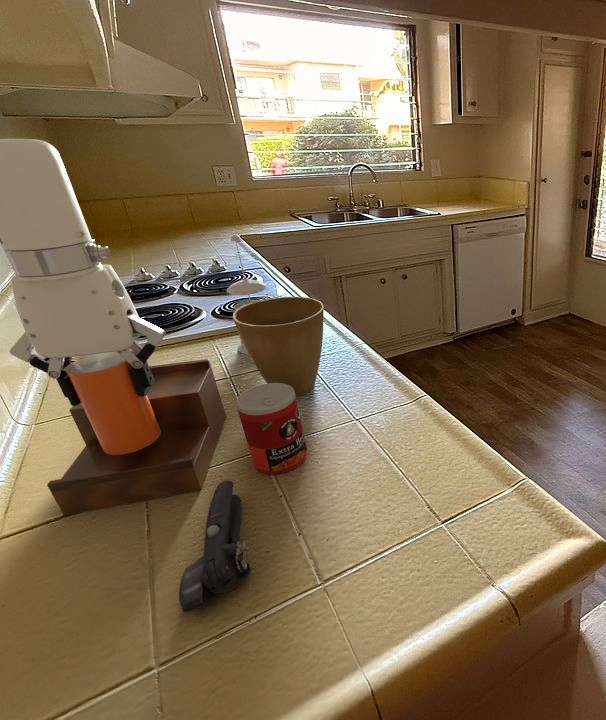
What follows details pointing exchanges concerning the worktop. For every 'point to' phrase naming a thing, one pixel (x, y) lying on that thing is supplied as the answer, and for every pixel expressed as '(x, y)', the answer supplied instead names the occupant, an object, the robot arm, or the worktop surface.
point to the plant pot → (283, 339)
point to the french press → (245, 291)
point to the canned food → (272, 427)
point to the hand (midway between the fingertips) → (113, 394)
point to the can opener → (217, 553)
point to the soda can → (113, 403)
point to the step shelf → (150, 446)
